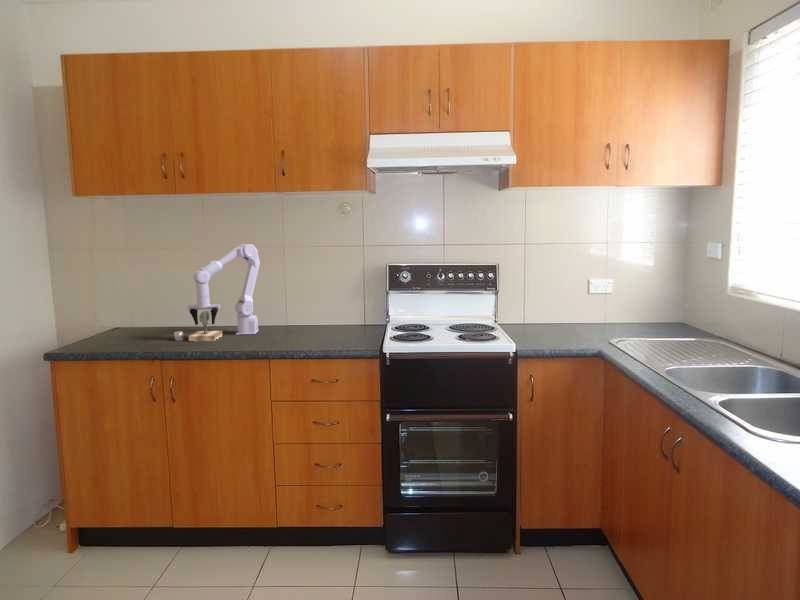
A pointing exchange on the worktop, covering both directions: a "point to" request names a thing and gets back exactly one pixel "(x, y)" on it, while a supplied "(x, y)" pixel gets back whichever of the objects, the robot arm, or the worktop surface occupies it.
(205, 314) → the mechanical component
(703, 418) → the worktop surface
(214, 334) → the stand
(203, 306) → the robot arm
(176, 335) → the steel bushing
